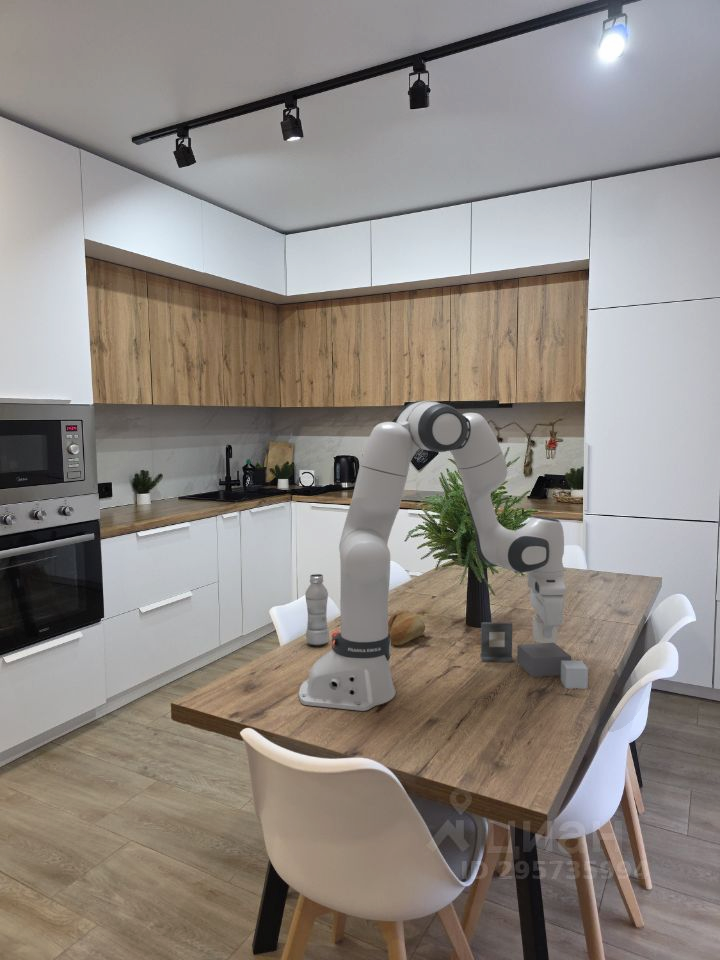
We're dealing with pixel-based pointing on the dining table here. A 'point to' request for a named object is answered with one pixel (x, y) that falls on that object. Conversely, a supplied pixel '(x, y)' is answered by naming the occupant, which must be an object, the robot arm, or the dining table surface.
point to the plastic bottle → (317, 611)
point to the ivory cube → (538, 632)
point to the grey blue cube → (574, 674)
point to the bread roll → (405, 627)
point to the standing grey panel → (496, 642)
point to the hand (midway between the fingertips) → (544, 633)
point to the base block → (542, 658)
